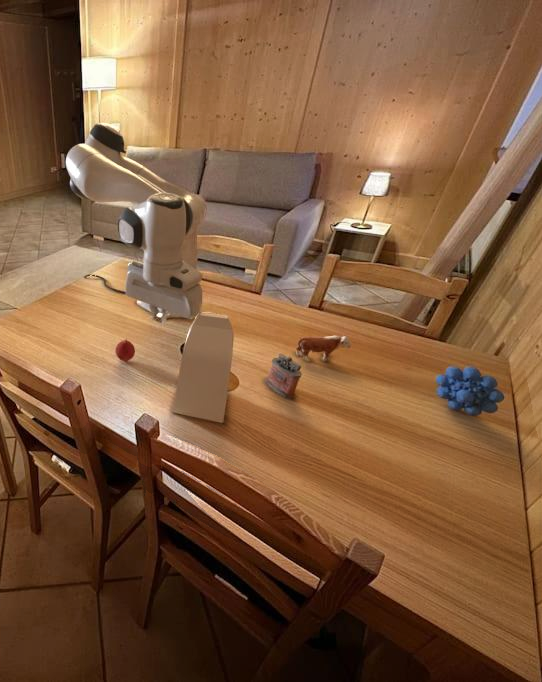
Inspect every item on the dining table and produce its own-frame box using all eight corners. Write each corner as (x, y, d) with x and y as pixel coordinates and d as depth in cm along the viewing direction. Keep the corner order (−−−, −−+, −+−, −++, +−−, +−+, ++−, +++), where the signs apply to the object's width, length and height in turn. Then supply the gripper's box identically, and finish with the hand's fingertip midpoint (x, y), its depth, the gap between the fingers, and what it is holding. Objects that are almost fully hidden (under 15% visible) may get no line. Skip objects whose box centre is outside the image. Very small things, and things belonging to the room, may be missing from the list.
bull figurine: (346, 364, 101) (356, 340, 97) (294, 361, 104) (302, 337, 99) (340, 355, 105) (350, 332, 100) (290, 352, 107) (297, 329, 103)
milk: (172, 412, 90) (181, 325, 76) (179, 383, 99) (189, 300, 84) (222, 423, 86) (242, 333, 72) (225, 392, 95) (243, 306, 80)
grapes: (418, 405, 87) (442, 367, 80) (426, 392, 90) (450, 354, 84) (483, 432, 79) (516, 392, 73) (489, 416, 83) (521, 377, 76)
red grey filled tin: (262, 381, 97) (271, 352, 92) (272, 378, 98) (281, 348, 93) (287, 400, 91) (297, 369, 86) (297, 396, 92) (308, 365, 87)
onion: (111, 361, 109) (111, 340, 105) (123, 352, 112) (123, 331, 108) (127, 369, 106) (127, 347, 101) (138, 359, 109) (139, 338, 104)
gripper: (119, 263, 87) (120, 312, 95) (193, 286, 74) (187, 340, 82) (135, 255, 90) (135, 304, 98) (209, 276, 78) (201, 329, 86)
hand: (159, 321), depth 90 cm, fingers closed
